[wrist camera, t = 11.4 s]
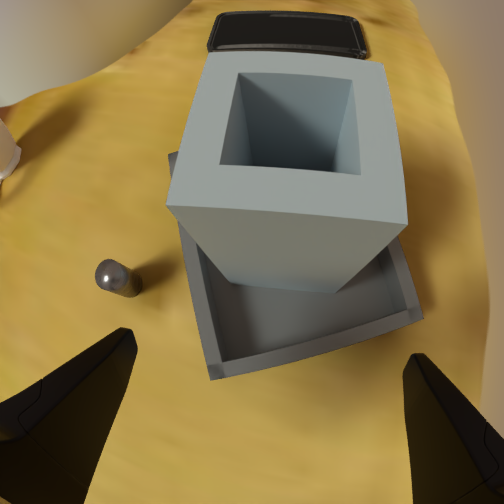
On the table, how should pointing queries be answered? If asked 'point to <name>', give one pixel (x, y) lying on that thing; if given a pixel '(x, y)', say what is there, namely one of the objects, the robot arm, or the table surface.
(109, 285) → the grey metal capsule
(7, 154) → the cup
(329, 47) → the phone
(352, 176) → the sleeve
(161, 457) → the table surface
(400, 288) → the tray
